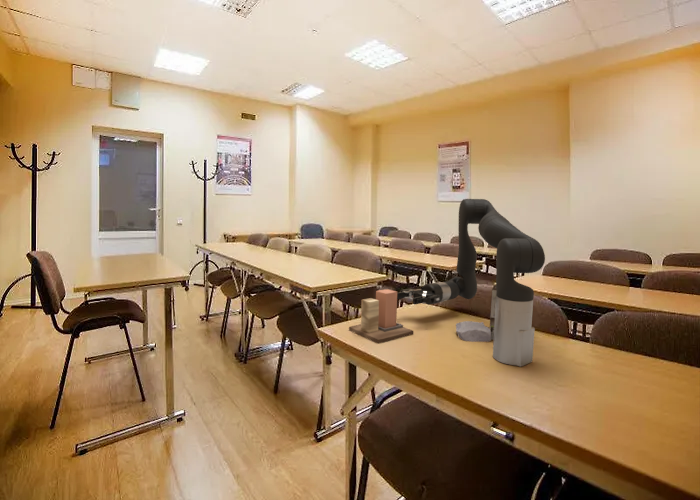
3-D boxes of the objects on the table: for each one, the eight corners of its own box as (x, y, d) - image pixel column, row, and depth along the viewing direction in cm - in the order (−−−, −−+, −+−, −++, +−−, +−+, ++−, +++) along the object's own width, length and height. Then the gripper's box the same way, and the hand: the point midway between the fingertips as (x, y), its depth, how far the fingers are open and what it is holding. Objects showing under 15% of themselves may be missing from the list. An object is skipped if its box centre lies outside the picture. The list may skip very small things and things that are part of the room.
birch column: (378, 330, 122) (378, 300, 121) (368, 332, 119) (369, 302, 118) (370, 327, 125) (371, 298, 124) (360, 329, 123) (361, 299, 122)
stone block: (461, 347, 117) (494, 342, 116) (459, 332, 117) (491, 327, 116) (453, 336, 129) (483, 331, 128) (451, 322, 128) (480, 317, 128)
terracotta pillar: (396, 326, 126) (397, 291, 125) (385, 329, 123) (386, 293, 122) (386, 323, 130) (387, 289, 129) (375, 325, 127) (376, 290, 126)
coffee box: (510, 343, 116) (513, 291, 114) (488, 339, 118) (491, 289, 117) (511, 334, 124) (514, 286, 122) (491, 331, 127) (493, 284, 125)
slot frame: (403, 327, 126) (403, 325, 125) (384, 331, 121) (384, 329, 121) (386, 321, 132) (386, 319, 132) (368, 325, 127) (368, 323, 127)
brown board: (413, 334, 122) (413, 330, 122) (378, 343, 114) (378, 339, 113) (382, 322, 134) (382, 319, 134) (349, 330, 126) (349, 326, 125)
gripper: (421, 279, 145) (391, 284, 136) (451, 286, 134) (420, 292, 125) (421, 298, 146) (390, 304, 137) (450, 306, 135) (419, 314, 125)
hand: (404, 298), depth 131 cm, fingers open, 8 cm apart
